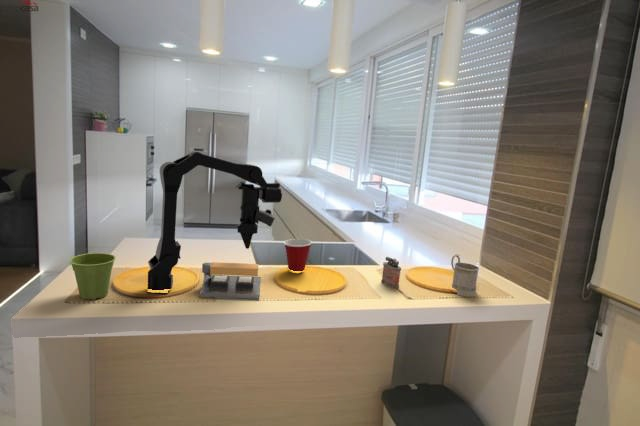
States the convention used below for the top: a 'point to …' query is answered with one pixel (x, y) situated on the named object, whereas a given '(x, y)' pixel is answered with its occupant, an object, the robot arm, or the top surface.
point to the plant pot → (93, 274)
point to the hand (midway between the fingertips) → (247, 248)
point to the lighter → (391, 273)
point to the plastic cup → (297, 253)
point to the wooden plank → (230, 269)
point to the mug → (464, 278)
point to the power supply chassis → (231, 287)
